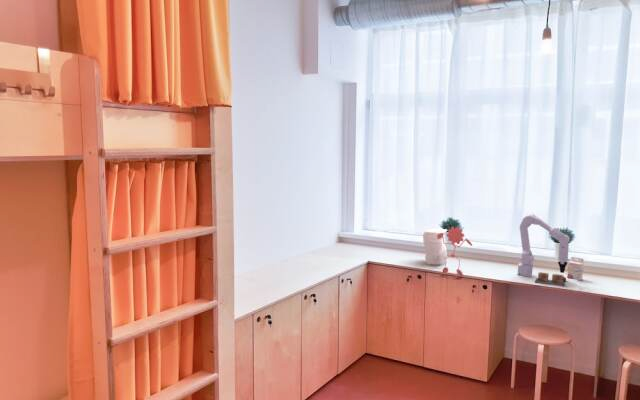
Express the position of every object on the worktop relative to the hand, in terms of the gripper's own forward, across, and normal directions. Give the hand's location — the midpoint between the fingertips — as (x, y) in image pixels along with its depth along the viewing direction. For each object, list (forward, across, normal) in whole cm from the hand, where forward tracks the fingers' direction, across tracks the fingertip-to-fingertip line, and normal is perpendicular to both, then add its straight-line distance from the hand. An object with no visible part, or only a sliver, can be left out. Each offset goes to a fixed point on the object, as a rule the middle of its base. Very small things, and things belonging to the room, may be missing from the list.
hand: (562, 272), depth 330 cm
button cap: (+5, 0, 0) cm, 5 cm away
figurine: (+7, -22, +68) cm, 71 cm away
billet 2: (+6, -10, +2) cm, 12 cm away
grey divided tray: (+7, -10, +6) cm, 14 cm away
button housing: (+7, 0, 0) cm, 7 cm away
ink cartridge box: (+7, +16, -8) cm, 19 cm away
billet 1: (+6, -10, +11) cm, 16 cm away
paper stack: (+7, +8, +92) cm, 92 cm away
